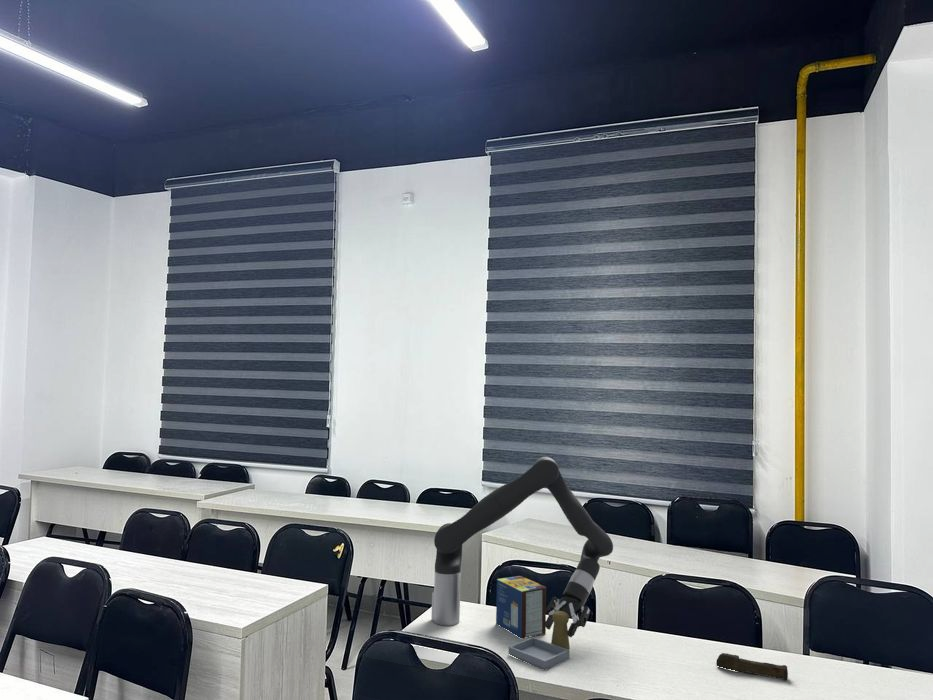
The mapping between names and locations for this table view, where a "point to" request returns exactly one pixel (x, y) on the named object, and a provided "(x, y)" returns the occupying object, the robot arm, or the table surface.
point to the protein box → (521, 606)
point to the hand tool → (751, 666)
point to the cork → (560, 629)
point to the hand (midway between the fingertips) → (558, 631)
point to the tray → (539, 653)
